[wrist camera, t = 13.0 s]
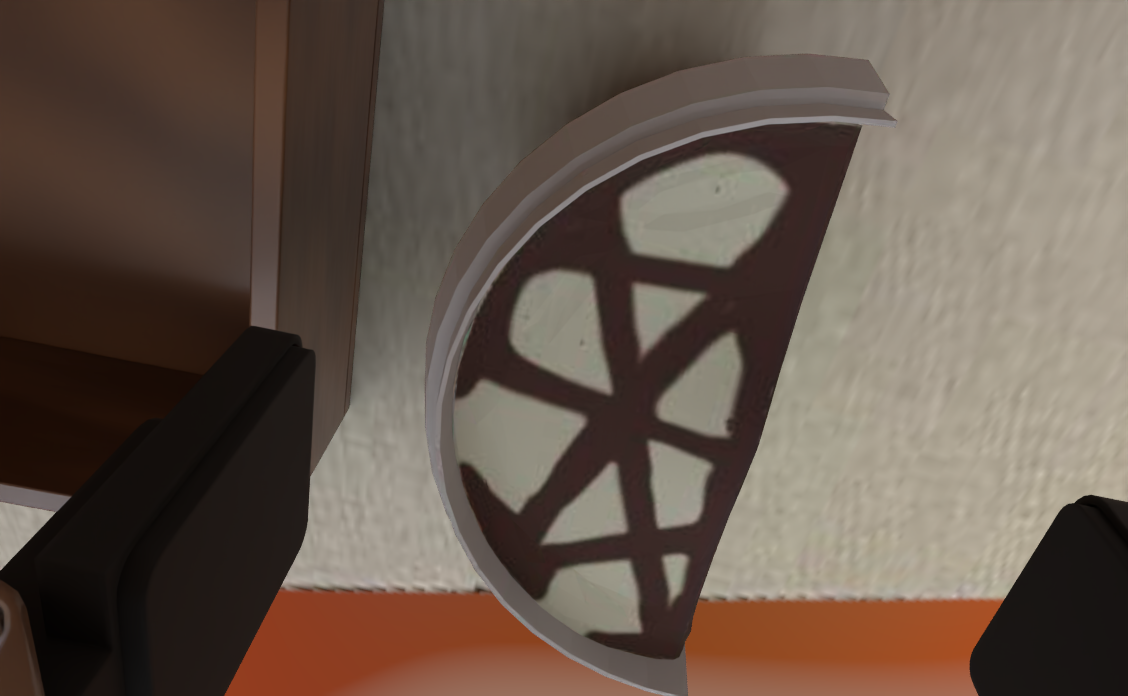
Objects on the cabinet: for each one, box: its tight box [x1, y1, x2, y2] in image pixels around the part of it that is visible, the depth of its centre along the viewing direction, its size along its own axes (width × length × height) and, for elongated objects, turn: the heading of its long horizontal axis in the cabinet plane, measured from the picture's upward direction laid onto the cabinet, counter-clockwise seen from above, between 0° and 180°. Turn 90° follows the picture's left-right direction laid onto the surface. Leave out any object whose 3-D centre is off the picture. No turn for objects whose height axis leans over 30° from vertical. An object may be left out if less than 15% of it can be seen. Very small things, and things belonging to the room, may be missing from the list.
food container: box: [425, 54, 897, 696], centre depth 18 cm, size 12×6×10 cm, turn 170°
